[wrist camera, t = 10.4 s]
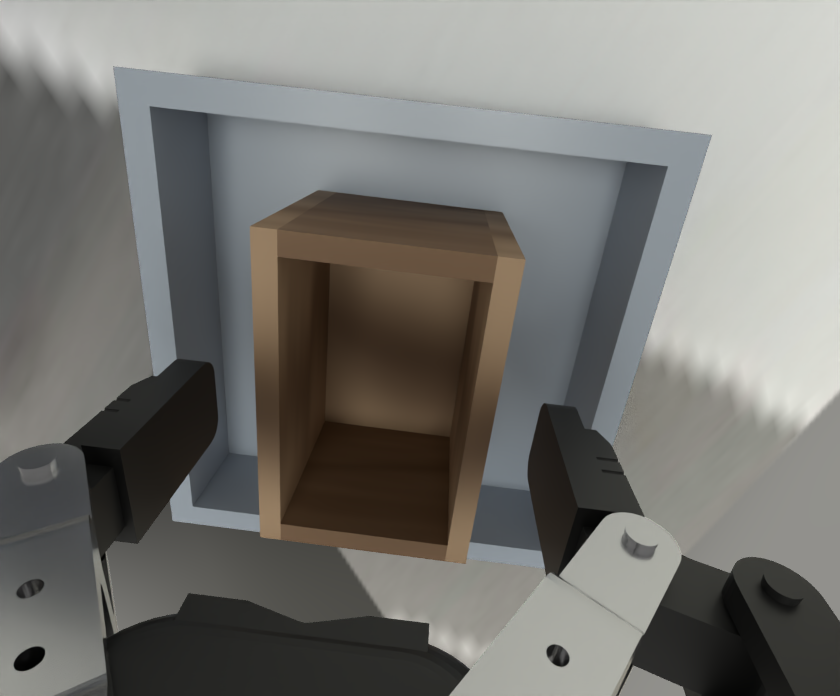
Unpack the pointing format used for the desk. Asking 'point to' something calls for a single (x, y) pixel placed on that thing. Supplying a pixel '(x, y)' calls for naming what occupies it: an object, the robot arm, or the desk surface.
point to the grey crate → (411, 181)
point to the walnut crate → (378, 369)
